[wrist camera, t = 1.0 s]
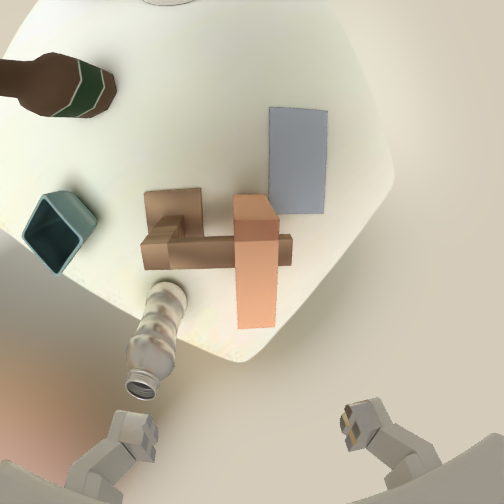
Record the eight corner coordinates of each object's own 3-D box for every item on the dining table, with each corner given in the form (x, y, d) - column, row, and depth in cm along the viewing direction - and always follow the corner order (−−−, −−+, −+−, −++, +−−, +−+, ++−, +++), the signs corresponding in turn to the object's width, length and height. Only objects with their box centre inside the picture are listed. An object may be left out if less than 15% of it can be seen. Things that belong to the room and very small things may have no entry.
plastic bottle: (176, 271, 41) (145, 366, 23) (195, 304, 44) (180, 403, 26) (143, 284, 42) (100, 375, 24) (163, 315, 45) (136, 409, 26)
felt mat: (269, 107, 33) (269, 107, 32) (325, 111, 33) (327, 111, 33) (268, 213, 39) (269, 214, 38) (322, 212, 39) (323, 213, 39)
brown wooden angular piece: (145, 191, 36) (114, 214, 25) (276, 186, 37) (294, 206, 27) (154, 255, 40) (130, 296, 29) (274, 251, 41) (289, 293, 31)
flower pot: (83, 253, 39) (57, 279, 31) (51, 217, 36) (19, 236, 28) (111, 218, 37) (84, 240, 29) (76, 179, 34) (43, 192, 26)
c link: (233, 194, 34) (233, 220, 24) (264, 194, 34) (279, 219, 24) (235, 279, 38) (237, 329, 28) (263, 278, 39) (274, 327, 29)
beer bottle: (71, 119, 30) (-52, 130, 8) (79, 72, 27) (-36, 46, 5) (114, 117, 31) (-10, 114, 9) (122, 67, 28) (14, 16, 6)
